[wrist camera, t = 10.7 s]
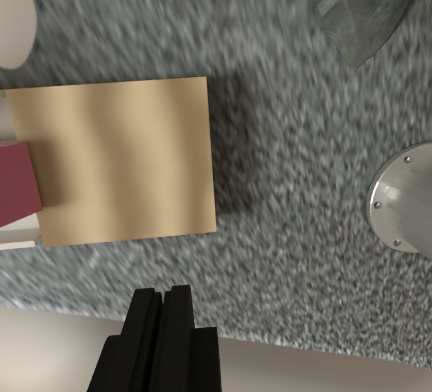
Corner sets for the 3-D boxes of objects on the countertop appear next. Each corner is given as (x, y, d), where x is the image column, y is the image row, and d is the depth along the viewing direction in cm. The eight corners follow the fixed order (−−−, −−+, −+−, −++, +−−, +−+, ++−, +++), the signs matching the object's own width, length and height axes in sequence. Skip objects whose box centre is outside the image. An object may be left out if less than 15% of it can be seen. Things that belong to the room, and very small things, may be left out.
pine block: (203, 76, 32) (206, 76, 28) (213, 215, 36) (216, 231, 33) (26, 88, 31) (4, 89, 27) (59, 229, 36) (44, 247, 32)
